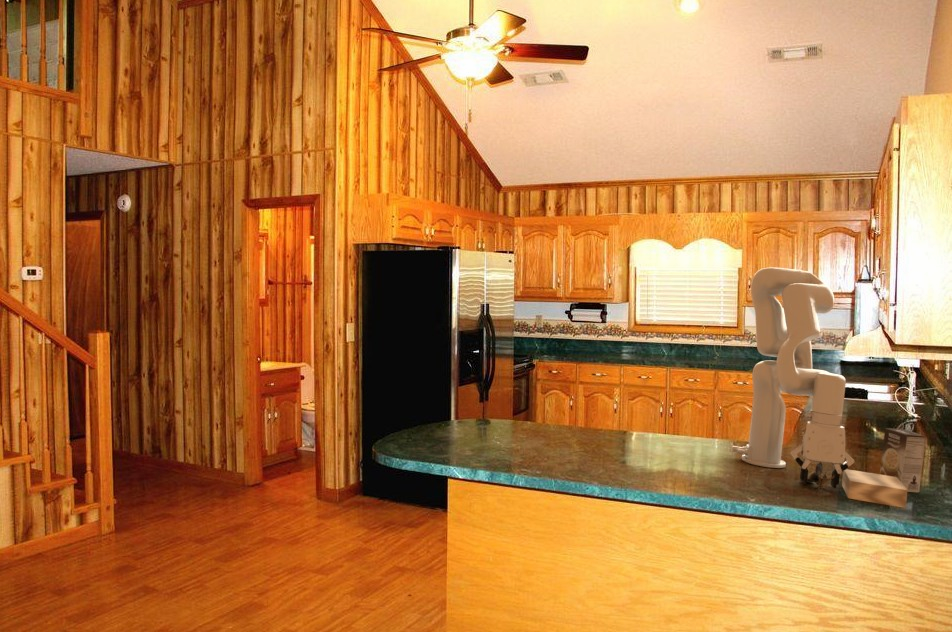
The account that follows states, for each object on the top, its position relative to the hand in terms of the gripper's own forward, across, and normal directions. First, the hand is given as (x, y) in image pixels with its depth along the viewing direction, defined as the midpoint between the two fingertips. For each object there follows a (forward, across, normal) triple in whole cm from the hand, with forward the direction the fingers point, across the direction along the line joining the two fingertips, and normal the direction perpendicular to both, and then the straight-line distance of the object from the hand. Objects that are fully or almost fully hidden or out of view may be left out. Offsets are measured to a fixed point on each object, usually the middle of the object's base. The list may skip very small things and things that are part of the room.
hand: (818, 484), depth 191 cm
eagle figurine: (+1, 0, +2) cm, 3 cm away
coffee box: (+1, +24, +17) cm, 30 cm away
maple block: (+2, +14, +1) cm, 14 cm away
